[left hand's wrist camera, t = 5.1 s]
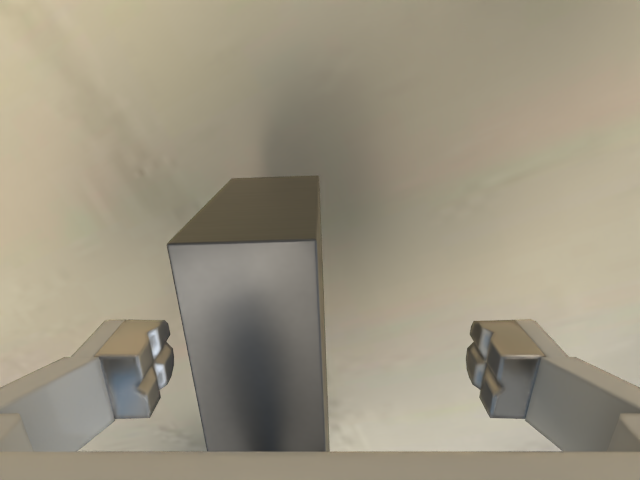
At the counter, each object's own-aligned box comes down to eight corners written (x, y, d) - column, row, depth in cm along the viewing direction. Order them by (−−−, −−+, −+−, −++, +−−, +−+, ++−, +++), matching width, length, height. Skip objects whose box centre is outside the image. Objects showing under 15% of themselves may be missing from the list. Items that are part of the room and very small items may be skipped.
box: (231, 178, 25) (165, 243, 15) (319, 175, 25) (316, 238, 15) (267, 476, 35) (244, 642, 25) (330, 475, 35) (334, 641, 25)
